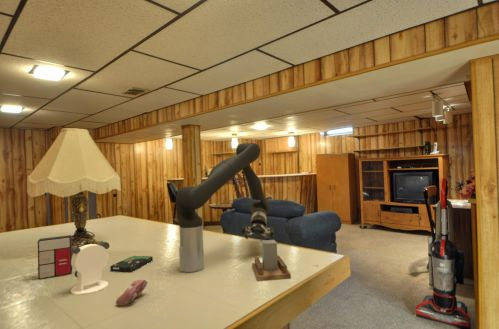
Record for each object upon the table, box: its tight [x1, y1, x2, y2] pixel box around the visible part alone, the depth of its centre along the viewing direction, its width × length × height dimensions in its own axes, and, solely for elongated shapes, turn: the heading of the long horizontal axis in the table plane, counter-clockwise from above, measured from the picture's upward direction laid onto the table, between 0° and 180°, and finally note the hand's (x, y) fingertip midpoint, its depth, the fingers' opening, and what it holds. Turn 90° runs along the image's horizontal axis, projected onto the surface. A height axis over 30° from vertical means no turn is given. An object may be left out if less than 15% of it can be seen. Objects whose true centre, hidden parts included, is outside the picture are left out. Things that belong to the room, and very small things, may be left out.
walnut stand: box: [251, 255, 292, 282], centre depth 108 cm, size 12×15×4 cm
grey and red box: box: [37, 234, 73, 280], centre depth 114 cm, size 11×4×15 cm, turn 118°
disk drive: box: [110, 255, 154, 273], centre depth 123 cm, size 10×3×15 cm
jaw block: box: [261, 239, 278, 271], centre depth 109 cm, size 5×5×10 cm
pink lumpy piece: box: [115, 278, 148, 307], centre depth 89 cm, size 10×5×7 cm, turn 171°
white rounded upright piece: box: [70, 240, 110, 296], centre depth 101 cm, size 12×11×15 cm
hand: (256, 238), depth 122 cm, fingers open, 8 cm apart
